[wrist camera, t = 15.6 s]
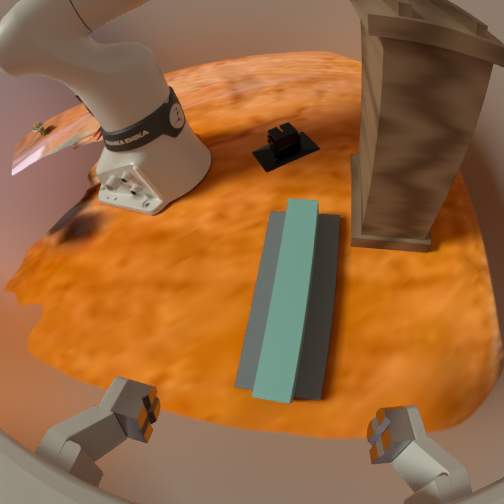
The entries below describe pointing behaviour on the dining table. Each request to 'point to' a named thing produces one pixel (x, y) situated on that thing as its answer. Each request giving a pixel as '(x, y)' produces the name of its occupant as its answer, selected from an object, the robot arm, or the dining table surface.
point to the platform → (40, 128)
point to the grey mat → (318, 309)
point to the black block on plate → (284, 147)
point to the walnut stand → (414, 115)
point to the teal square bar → (288, 304)
